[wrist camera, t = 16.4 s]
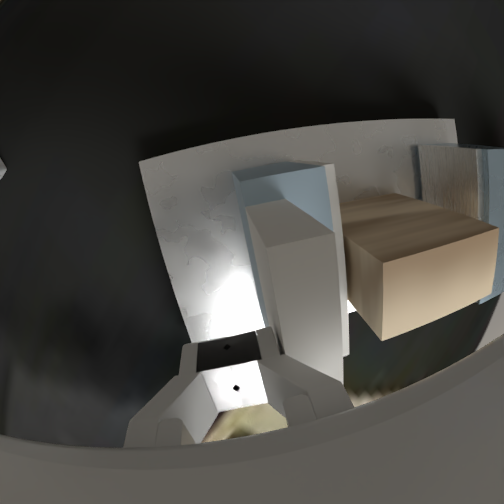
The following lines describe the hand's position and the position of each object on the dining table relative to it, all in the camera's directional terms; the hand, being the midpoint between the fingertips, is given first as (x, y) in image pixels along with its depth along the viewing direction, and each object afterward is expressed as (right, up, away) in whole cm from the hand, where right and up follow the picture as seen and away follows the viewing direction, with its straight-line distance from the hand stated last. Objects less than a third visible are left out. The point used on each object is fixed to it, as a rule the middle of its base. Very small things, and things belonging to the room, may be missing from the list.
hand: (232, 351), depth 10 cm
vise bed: (+6, +6, +12) cm, 15 cm away
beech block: (+8, +5, +11) cm, 14 cm away
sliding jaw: (+2, +4, +10) cm, 11 cm away
